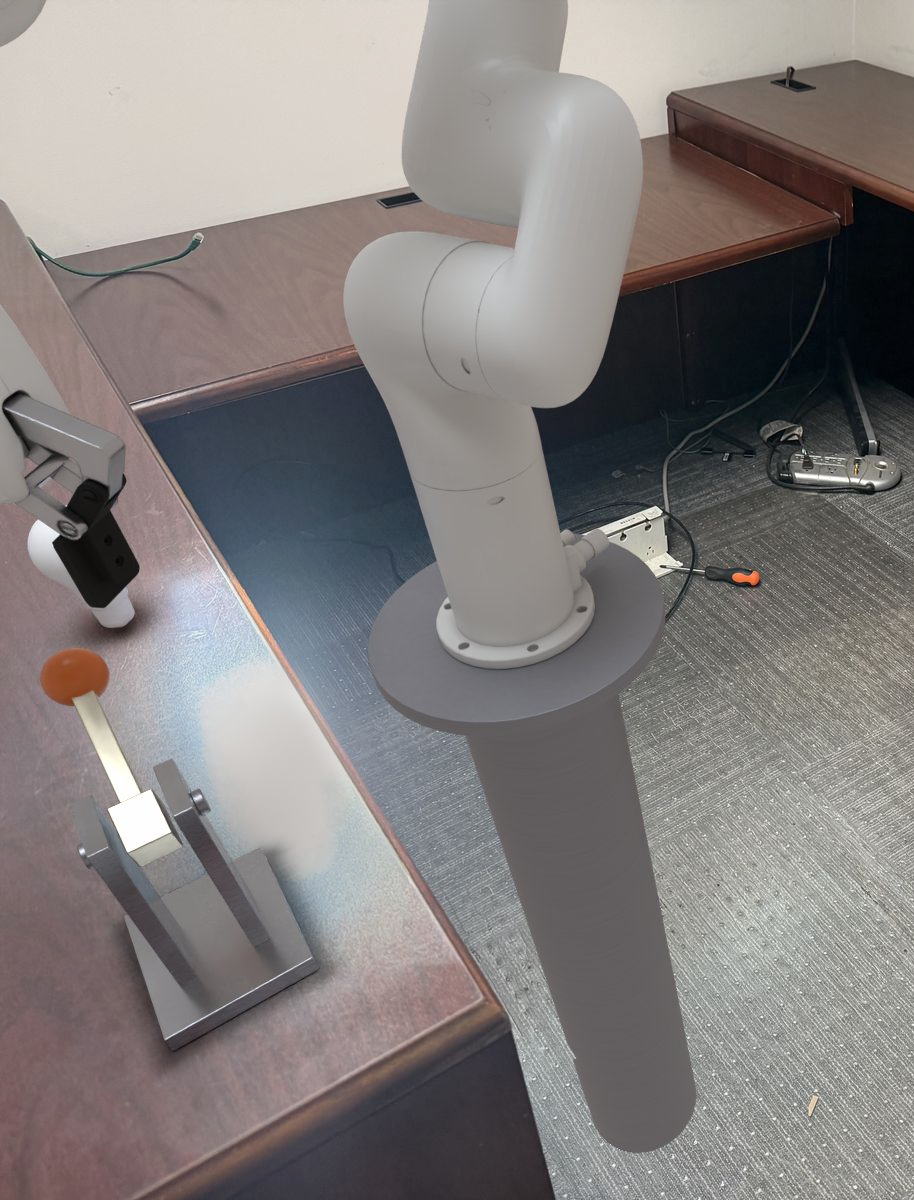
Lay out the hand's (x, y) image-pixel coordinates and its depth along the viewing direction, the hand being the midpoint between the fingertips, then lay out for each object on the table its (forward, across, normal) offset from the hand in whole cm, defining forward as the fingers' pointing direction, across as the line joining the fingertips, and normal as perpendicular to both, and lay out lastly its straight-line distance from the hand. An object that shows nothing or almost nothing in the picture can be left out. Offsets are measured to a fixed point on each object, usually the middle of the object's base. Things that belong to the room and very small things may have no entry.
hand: (25, 584), depth 53 cm
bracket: (+23, -4, +5) cm, 24 cm away
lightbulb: (+24, +21, -22) cm, 39 cm away
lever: (+12, 0, +1) cm, 12 cm away
